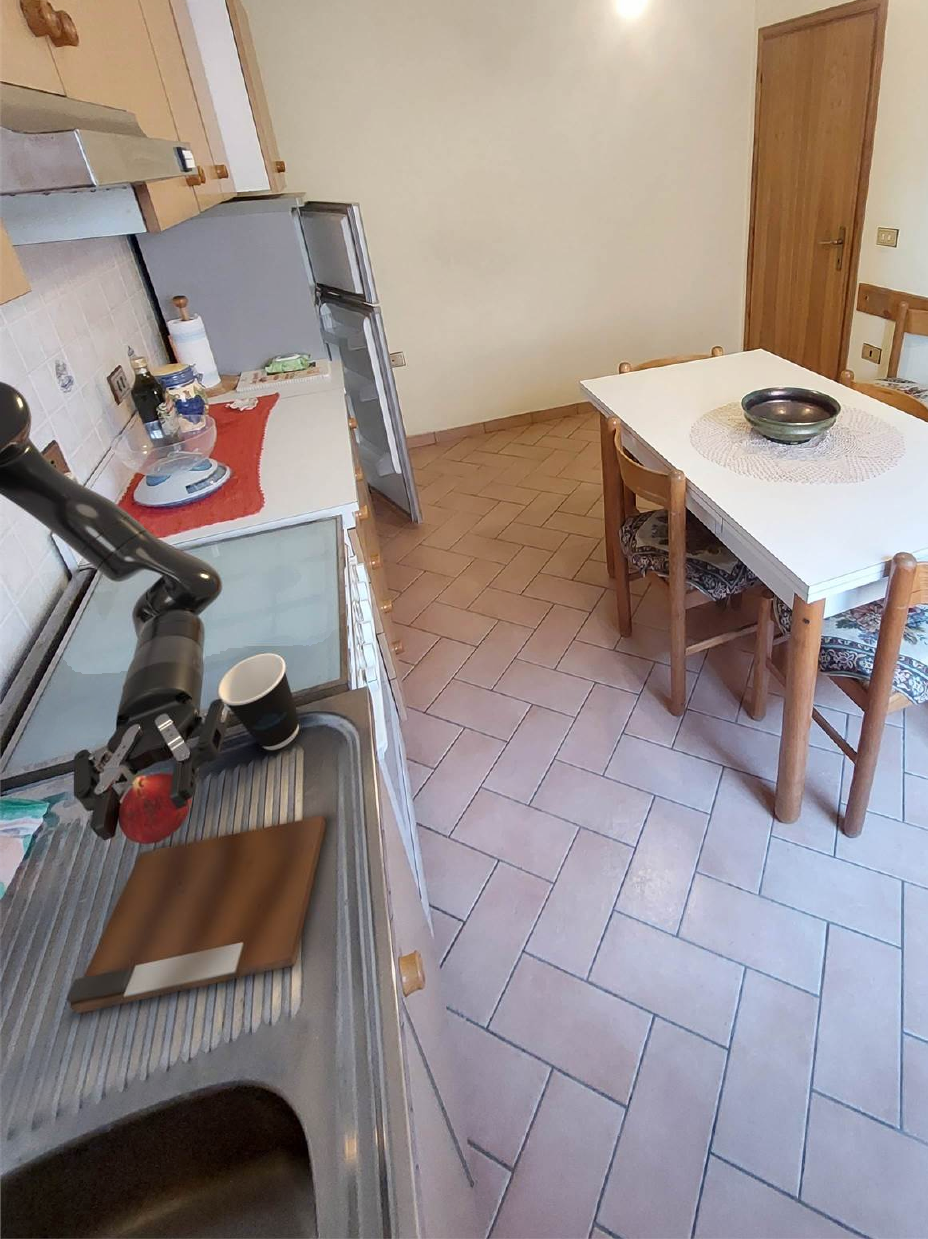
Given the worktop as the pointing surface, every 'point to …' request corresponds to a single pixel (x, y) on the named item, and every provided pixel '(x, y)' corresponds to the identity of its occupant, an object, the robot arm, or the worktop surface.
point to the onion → (150, 810)
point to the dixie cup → (261, 699)
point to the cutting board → (205, 915)
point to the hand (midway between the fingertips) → (141, 817)
